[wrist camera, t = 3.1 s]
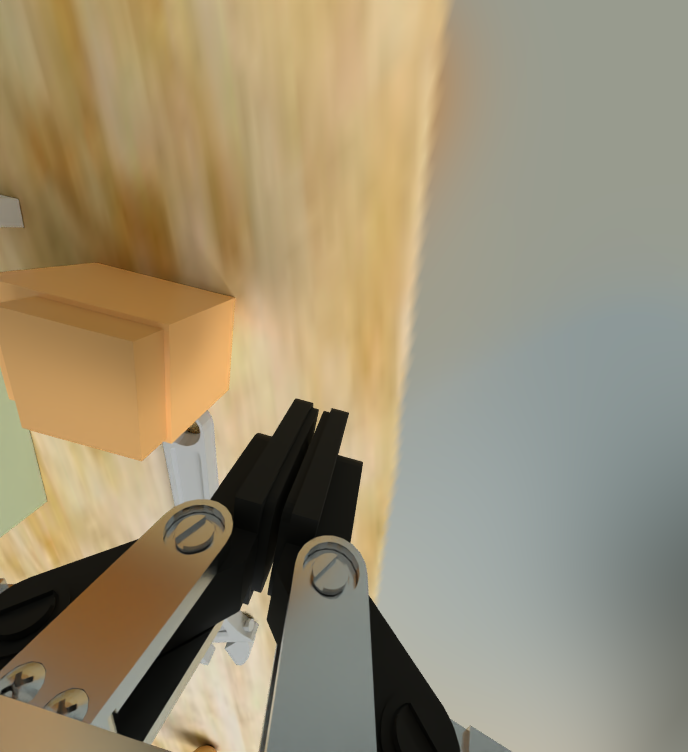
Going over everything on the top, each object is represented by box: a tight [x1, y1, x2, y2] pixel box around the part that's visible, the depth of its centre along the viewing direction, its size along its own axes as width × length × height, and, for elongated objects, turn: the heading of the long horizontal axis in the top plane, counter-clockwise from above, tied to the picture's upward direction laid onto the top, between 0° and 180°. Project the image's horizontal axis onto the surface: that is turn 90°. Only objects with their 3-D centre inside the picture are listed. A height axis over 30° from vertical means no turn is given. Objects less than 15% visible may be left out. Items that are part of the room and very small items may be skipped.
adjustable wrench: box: [163, 410, 259, 665], centre depth 23 cm, size 25×6×2 cm, turn 171°
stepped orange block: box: [0, 262, 235, 461], centre depth 14 cm, size 5×7×6 cm
